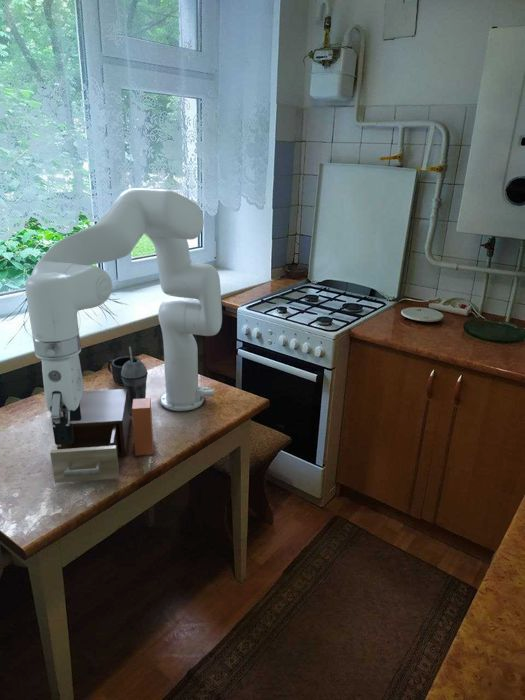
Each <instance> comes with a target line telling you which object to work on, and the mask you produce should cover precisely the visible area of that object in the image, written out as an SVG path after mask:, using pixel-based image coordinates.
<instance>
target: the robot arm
mask: <svg viewBox="0 0 525 700" xmlns="http://www.w3.org/2000/svg"><path fill="white" fill-rule="evenodd" d="M204 219H205V218H204V214H203V211H202V209H201V207H200V206H199V205H198V204H197V203H196V202H195V201H194V200H191V199H189V198H187V197H186V196H184V195H182V194H181V193H178V192H175V191H172V190H169V189H158V188H155V189H154V188H138V187H135V188H129V189H126V190H124V191H123V192H121V193H120V195H119V196H118V197H117V198H116V199H115V200H114V201H113V203H112V204H111V205H110V206H109V208H108V209H107V210H106V212H105V213H104V214H103V215H102V216H101V217H100V218H99V220H98V221H97V222H96V223H94V224H93V225H91V226H87V227H86V228H85V227H84V228H83V229H81V230H79V231H77V232H75V233H73V234H70V235H68V236H66V237H64V238H61V239H60V240H58V241H57V242H55V243H54V244H53V245H51V246H50V247H49V248H48V250H47V251H45V253H44V254H43V255H42V256H41V257H40V259H39V260H38V261H37V263H36V264H35V265H34V266H33V269H32V271H31V274H30V276H29V277H28V278H27V279H26V280H25V284H24V289H25V296H26V297H25V298H26V302H27V310H28V316H29V322H30V329H31V335H32V342H33V349H34V354H35V357H36V358H37V359H39V360H41V372H42V383H43V390H44V391H43V392H44V399H45V404H46V408H47V410H48V412H50V418H51V424H52V426H51V427H52V432H53V439H54V444H55V445H56V446H57V445H65V444H73V443H74V435H73V427H72V423H70V421H80V420H81V410H80V400H81V397H82V394H83V391H85V386H84V385H85V384H84V380H83V372H82V367H81V366H82V365H81V361H80V356H79V354H80V353H81V351H82V346H81V337H80V328H79V321H78V320H79V318H78V312H79V311H84V310H88V309H94V308H97V307H100V306H101V305H103V304H105V302H107V300H108V299H109V298H110V296H111V294H112V291H113V281H112V278H111V275H110V274H109V273H108V272H107V271H106V270H105V269H103V268H101V267H99V266H95V265H96V264H102V263H107V262H113V261H116V260H120V259H122V258H125V257H127V256H129V255H130V254H131V253H132V251H133V250H134V248H135V247H136V246H137V244H138V243H139V242H140V240H141V238H142V237H143V236H144V235H145V236H146V237H147V238H148V239H149V240H150V242H151V243H152V245H153V247H154V251H155V256H156V263H157V271H158V278H159V284H160V288H161V291H162V292H163V293H164V295H167V296H170V298H166V299H164V300H163V301H162V302H161V303H160V305H159V307H158V313H157V314H158V315H157V316H158V322H159V325H160V329H161V335H162V340H163V341H162V342H163V361H164V363H163V364H164V365H163V366H164V383H165V386H164V387H165V392H164V393H163V394H162V395H161V397H160V405H161V406H162V407H163V408H165V409H167V410H170V411H175V412H186V411H192V410H195V409H198V408H199V407H201V406H202V405H203V404H204V400H205V397H215V390H214V389H210V386H205V387H202V386H200V382H199V357H198V356H199V355H198V353H199V352H198V351H199V349H198V348H199V347H198V344H197V340H196V338H195V337H194V335H195V336H204V337H213V336H216V335H217V334H218V333H219V332H220V330H221V329H222V324H223V309H222V308H223V305H222V292H221V291H222V290H221V278H220V275H219V272H218V270H217V268H216V267H215V266H214V265H212V264H210V263H204V262H194V261H192V259H191V256H190V246H189V242H188V240H191V241H192V240H195V239H197V238H198V237H199V236H200V235H201V233H203V229H204V224H205V223H204V222H205V220H204ZM61 405H62V408H61ZM61 412H63V417H61Z"/></svg>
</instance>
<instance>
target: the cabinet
mask: <svg viewBox="0 0 525 700" xmlns="http://www.w3.org/2000/svg"><path fill="white" fill-rule="evenodd" d="M80 410H81V420H80V421H70V423H72V427H80V426H96V425H112V424H119V433H120V448H119V454H118V457H123V456H126V454H127V453H126V452H127V447H128V439H129V438H128V437H129V431H130V430H129V429H130V423H131V419H130V417H131V416H130V413H129V404H128V392H127V389H124V388H121V389H120V388H118V389H117V388H116V389H102V390H101V389H99V390H98V389H97V390H83V394H82V397H81V400H80ZM61 417H63V412H61Z"/></svg>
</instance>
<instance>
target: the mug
mask: <svg viewBox="0 0 525 700" xmlns="http://www.w3.org/2000/svg"><path fill="white" fill-rule="evenodd" d="M132 358H133V359H136V360H139V361H141V362H142V359H140V358H139V357H136V356H132ZM129 360H131V358H130V355H129V356H128V355H127V356H126V355H125V356H120V357H117V358H115V359H110V360H109V361H108V362H107V370H108V372H109V373H111V375H112V380H113V381H114V383H115V384H117V385H119V386H124V383H123V381H122V377H121V370H122V367H123V365H124V364H125V363H126V362H127V361H129Z"/></svg>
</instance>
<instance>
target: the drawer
mask: <svg viewBox="0 0 525 700" xmlns="http://www.w3.org/2000/svg"><path fill="white" fill-rule="evenodd" d="M73 435H74V443H73V444H65V445H56V449H51V450H50V452H49V454H50V460H51V468H52V475H53V480H54V481H53V482H54V484H63V483H74V482H75V483H76V482H87V481H89V482H90V481H98V480H99V481H101V480H102V481H103V480H113V479H120V468H119V456H118V454H119V448H120V433H119V424H112V425H96V426H80V427H73Z"/></svg>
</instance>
